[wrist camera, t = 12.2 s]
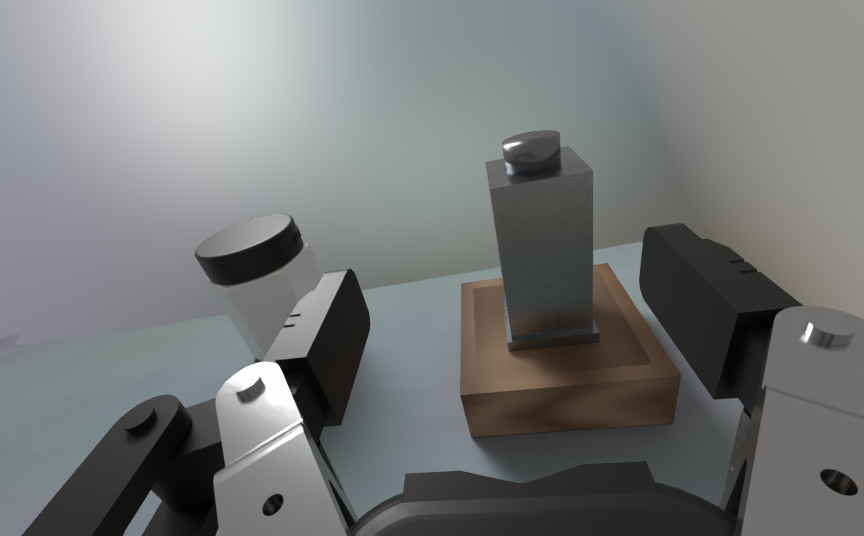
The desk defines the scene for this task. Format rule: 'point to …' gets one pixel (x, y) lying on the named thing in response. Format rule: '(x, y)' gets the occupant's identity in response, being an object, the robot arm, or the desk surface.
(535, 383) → the stand
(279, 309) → the jar
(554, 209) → the block
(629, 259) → the desk surface
